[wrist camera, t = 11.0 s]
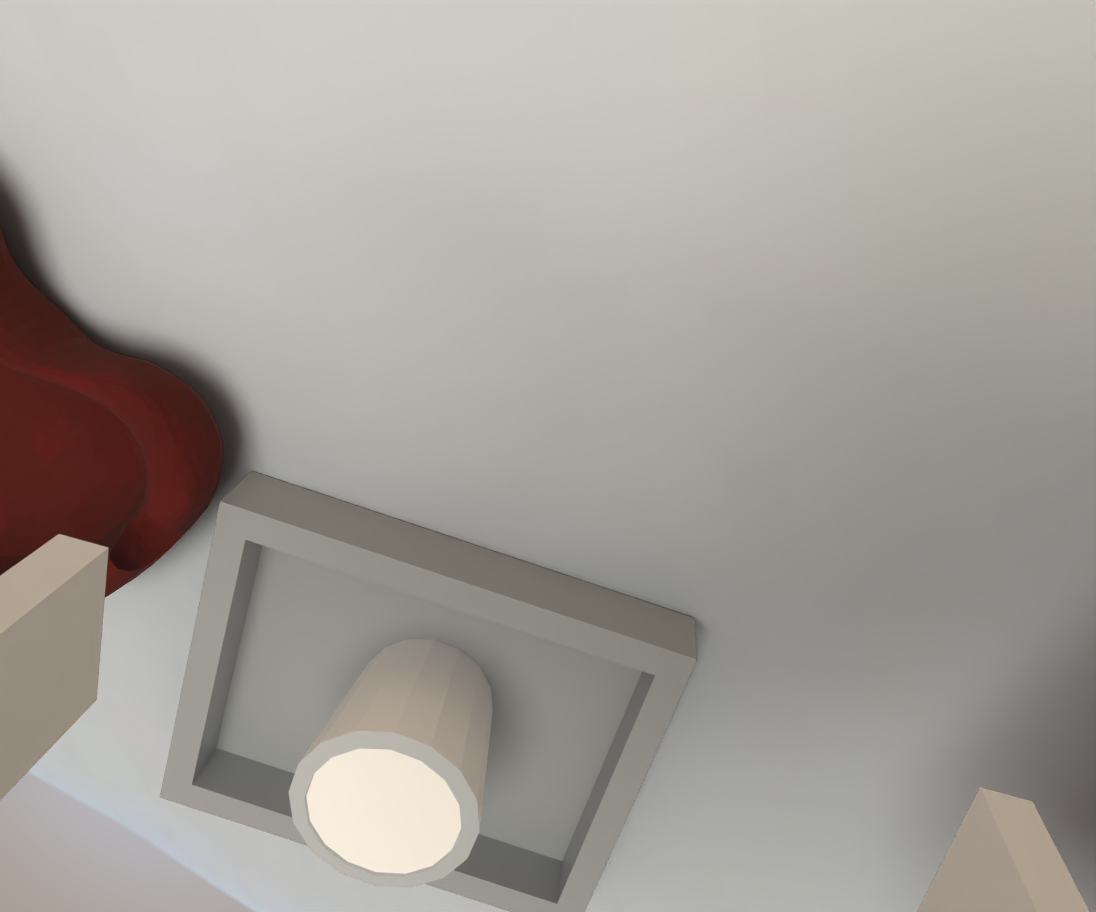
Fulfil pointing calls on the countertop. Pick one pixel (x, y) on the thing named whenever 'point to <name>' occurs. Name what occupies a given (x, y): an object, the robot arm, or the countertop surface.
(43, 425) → the ashtray
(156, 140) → the countertop surface
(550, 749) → the tray
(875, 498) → the countertop surface
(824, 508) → the countertop surface
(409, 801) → the white cup
